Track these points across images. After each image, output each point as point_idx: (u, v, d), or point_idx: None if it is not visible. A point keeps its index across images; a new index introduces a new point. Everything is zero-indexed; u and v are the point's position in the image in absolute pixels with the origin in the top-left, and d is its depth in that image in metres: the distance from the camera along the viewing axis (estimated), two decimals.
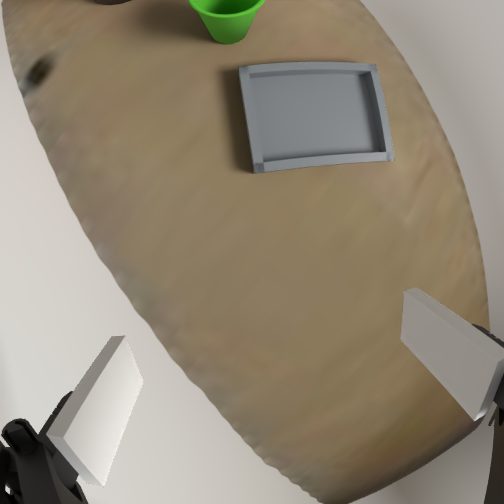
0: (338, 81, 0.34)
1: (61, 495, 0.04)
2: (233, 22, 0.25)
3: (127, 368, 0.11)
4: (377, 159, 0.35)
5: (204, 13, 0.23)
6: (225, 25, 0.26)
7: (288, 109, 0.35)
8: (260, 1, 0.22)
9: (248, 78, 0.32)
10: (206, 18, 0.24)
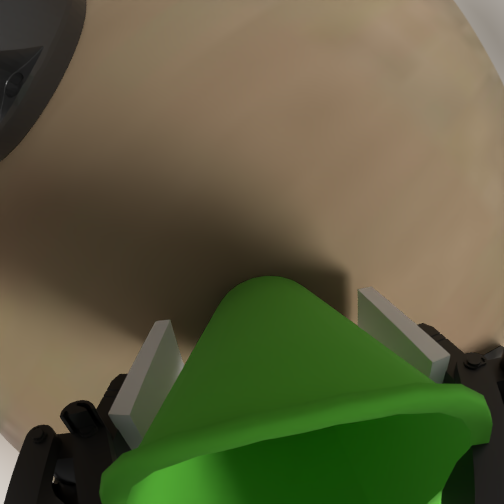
0: None
1: None
2: None
3: (172, 350, 0.12)
4: None
5: None
6: None
7: None
8: None
9: None
10: None
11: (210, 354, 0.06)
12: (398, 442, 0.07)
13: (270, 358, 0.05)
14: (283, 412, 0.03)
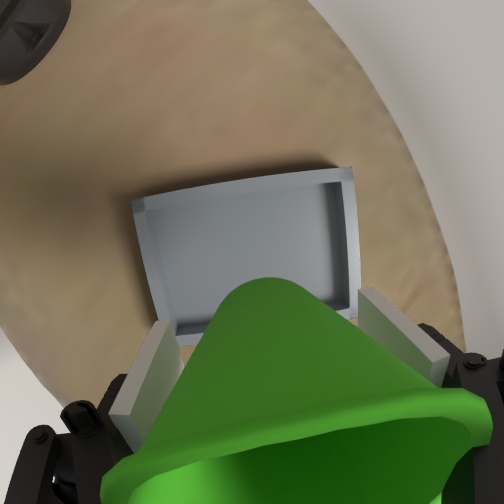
0: (288, 199, 0.26)
1: None
2: None
3: (172, 350, 0.12)
4: None
5: None
6: None
7: (209, 254, 0.27)
8: None
9: (145, 219, 0.24)
10: None
11: (210, 357, 0.06)
12: (398, 444, 0.07)
13: (271, 362, 0.05)
14: (284, 418, 0.03)
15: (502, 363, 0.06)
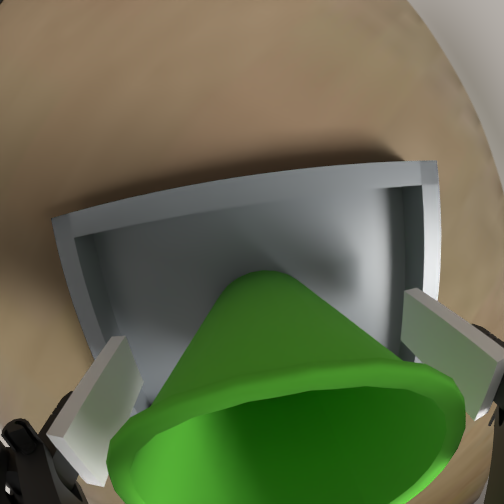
0: (329, 214, 0.14)
1: (61, 495, 0.04)
2: None
3: (127, 368, 0.11)
4: None
5: None
6: None
7: (189, 309, 0.15)
8: (403, 498, 0.05)
9: (74, 252, 0.12)
10: None
11: (208, 337, 0.07)
12: (384, 427, 0.08)
13: (259, 338, 0.06)
14: (263, 375, 0.04)
15: None
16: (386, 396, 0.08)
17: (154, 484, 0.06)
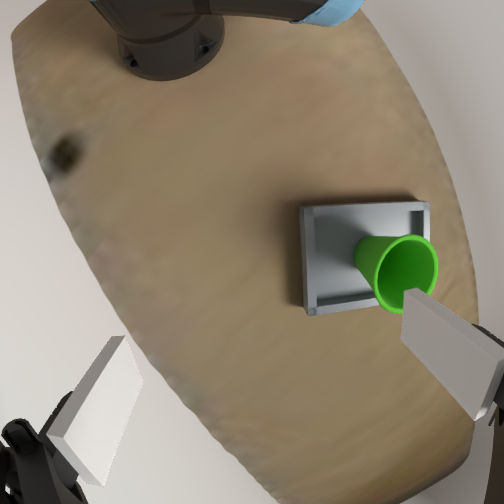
0: (392, 218, 0.38)
1: (61, 495, 0.04)
2: None
3: (127, 368, 0.11)
4: None
5: (384, 308, 0.29)
6: None
7: (343, 250, 0.39)
8: (429, 291, 0.29)
9: (312, 222, 0.36)
10: None
11: (383, 241, 0.31)
12: (418, 274, 0.31)
13: (398, 237, 0.29)
14: (407, 234, 0.27)
15: None
16: (417, 265, 0.31)
17: None
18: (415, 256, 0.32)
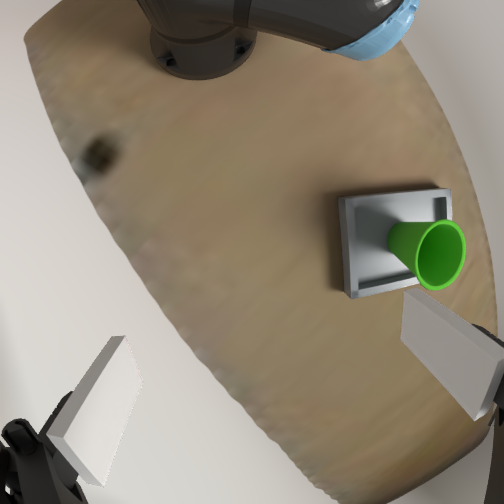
0: (419, 205, 0.39)
1: (61, 495, 0.04)
2: None
3: (127, 368, 0.11)
4: None
5: (424, 286, 0.31)
6: None
7: (378, 236, 0.40)
8: (458, 269, 0.31)
9: (353, 212, 0.37)
10: (416, 276, 0.33)
11: (418, 226, 0.32)
12: (447, 255, 0.33)
13: (431, 222, 0.31)
14: None
15: None
16: (446, 246, 0.33)
17: None
18: (444, 238, 0.33)
